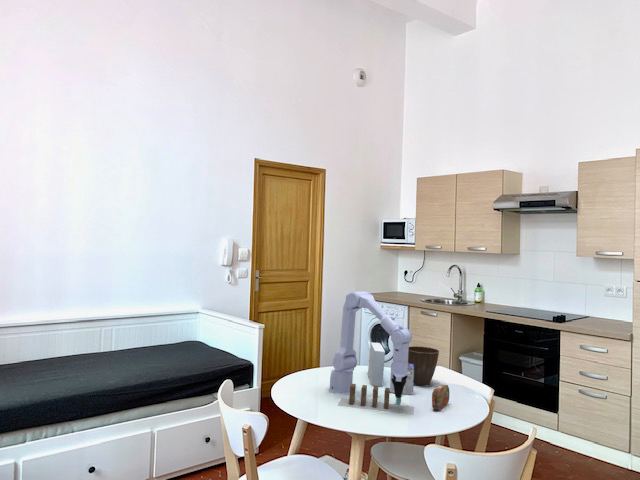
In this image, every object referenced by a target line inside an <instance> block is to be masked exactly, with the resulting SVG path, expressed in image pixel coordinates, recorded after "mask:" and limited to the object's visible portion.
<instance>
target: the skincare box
mask: <svg viewBox="0 0 640 480" xmlns="http://www.w3.org/2000/svg"><path fill="white" fill-rule="evenodd" d="M369 344H370V345H369V355H368V356H369V357H368V367H367V375H368V379H369V381H370V384H371V386H372V387H374V386H377V387H383V382H384V369H385V356H386V351H385V349H384V346H382V344H381V342H370V343H369Z"/></svg>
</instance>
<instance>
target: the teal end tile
mask: <svg viewBox="0 0 640 480" xmlns="http://www.w3.org/2000/svg"><path fill="white" fill-rule="evenodd" d="M401 402H402V397H401V398H396V397H395V404H396V405H402V403H401Z"/></svg>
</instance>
